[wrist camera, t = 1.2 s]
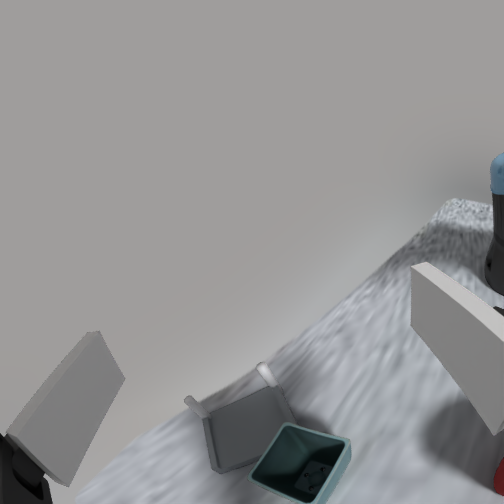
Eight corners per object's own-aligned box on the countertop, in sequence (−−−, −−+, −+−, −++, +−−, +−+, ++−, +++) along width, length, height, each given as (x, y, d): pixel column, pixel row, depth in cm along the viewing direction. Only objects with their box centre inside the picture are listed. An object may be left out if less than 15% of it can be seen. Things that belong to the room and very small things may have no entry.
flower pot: (272, 493, 27) (243, 478, 23) (305, 445, 32) (284, 420, 29) (329, 516, 21) (311, 509, 17) (361, 460, 27) (351, 439, 23)
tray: (281, 386, 44) (264, 360, 41) (307, 438, 33) (290, 417, 30) (207, 419, 43) (183, 397, 40) (218, 474, 32) (190, 457, 29)
